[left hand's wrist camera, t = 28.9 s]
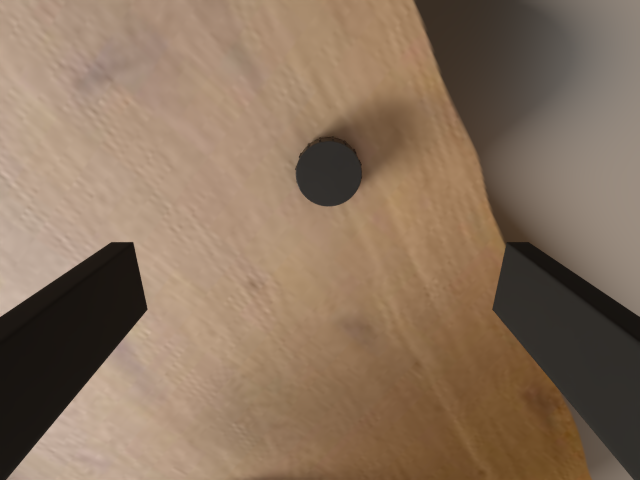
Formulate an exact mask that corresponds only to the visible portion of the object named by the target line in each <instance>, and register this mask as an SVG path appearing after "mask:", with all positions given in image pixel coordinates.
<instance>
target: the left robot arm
mask: <svg viewBox="0 0 640 480" xmlns="http://www.w3.org/2000/svg"><path fill="white" fill-rule="evenodd" d="M147 310H148V309H147V305H146V300H145V295H144V291H143V286H142V281H141V276H140V272H139V267H138V262H137V258H136V253H135V248H134V244H133V242H111V243H110V244H108V245H107V246H105V247H104V248H102V249H101V250H99V251H98V252H96V253H95V254H93V255H92V256H90V257H89V258H87V259H86V260H84V261H83V262H81V263H80V264H78V265H77V266H75V267H74V268H72V269H71V270H69V271H68V272H67V273H65V274H64V275H62V276H61V277H59V278H58V279H56V280H55V281H53V282H52V283H50V284H49V285H47V286H46V287H44V288H43V289H41V290H40V291H38V292H37V293H35V294H34V295H32V296H31V297H29V298H28V299H26V300H25V301H23V302H22V303H20V304H19V305H17V306H16V307H15V308H13V309H12V310H10V311H9V312H7V313H6V314H4V315H3V316H1V317H0V480H6V479H7V478H8V477H9V476H10V474H11V473H12V472H13V471H14V470H15V468H16V467H17V466H18V465H19V464H20V462H21V461H22V460H23V459H24V458H25V456H26V455H27V454H28V453H29V452H30V450H31V449H32V448H33V447H34V446H35V444H36V443H37V442H38V441H39V440H40V438H41V437H42V436H43V435H44V433H45V432H46V431H47V430H48V429H49V427H50V426H51V425H52V424H53V423H54V421H55V420H56V419H57V418H58V417H59V415H60V414H61V413H62V412H63V411H64V409H65V408H66V407H67V406H68V405H69V403H70V402H71V401H72V400H73V399H74V397H75V396H76V395H77V394H78V393H79V391H80V390H81V389H82V388H83V387H84V385H85V384H86V383H87V382H88V381H89V379H90V378H91V377H92V376H93V375H94V373H95V372H96V371H97V370H98V368H99V367H100V366H101V365H102V364H103V362H104V361H105V360H106V359H107V358H108V356H109V355H110V354H111V353H112V352H113V350H114V349H115V348H116V347H117V346H118V344H119V343H120V342H121V341H122V340H123V338H124V337H125V336H126V335H127V334H128V332H129V331H130V330H131V329H132V328H133V326H134V325H135V324H136V323H137V322H138V320H139V319H140V318H141V317H142V316H143V314H144V313H145V312H146V311H147ZM492 310H493V311H494V312H495V313H496V314H497V316H498V317H499V318H500V319H501V320H502V322H503V323H504V324H505V325H506V326H507V328H508V329H509V330H510V331H511V332H512V334H513V335H514V336H515V337H516V338H517V340H518V341H519V342H520V343H521V344H522V346H523V347H524V348H525V349H526V350H527V352H528V353H529V354H530V355H531V356H532V358H533V359H534V360H535V361H536V362H537V364H538V365H539V366H540V367H541V368H542V370H543V371H544V372H545V373H546V375H547V376H548V377H549V378H550V379H551V381H552V382H553V383H554V384H555V385H556V387H557V388H558V389H559V390H560V391H561V393H562V394H563V395H564V396H565V397H566V399H567V400H568V401H569V402H570V403H571V405H572V406H573V407H574V408H575V409H576V411H577V412H578V413H579V414H580V415H581V417H582V418H583V419H584V420H585V421H586V423H587V424H588V425H589V426H590V427H591V429H592V430H593V431H594V432H595V433H596V435H597V436H598V437H599V438H600V440H601V441H602V442H603V443H604V444H605V446H606V447H607V448H608V449H609V450H610V451H611V453H612V454H613V455H614V456H615V458H616V459H617V460H618V461H619V462H620V464H621V465H622V466H623V467H624V468H625V470H626V471H627V472H628V473H629V474H630V476H631V477H632V478H633V479H634V480H640V317H639V316H637V315H636V314H634V313H633V312H631V311H630V310H628V309H627V308H625V307H624V306H623V305H621V304H619V303H618V302H617V301H615V300H614V299H612V298H611V297H609V296H608V295H606V294H605V293H603V292H602V291H600V290H599V289H597V288H596V287H594V286H593V285H591V284H590V283H588V282H587V281H585V280H584V279H582V278H581V277H579V276H578V275H576V274H575V273H573V272H572V271H570V270H569V269H568V268H566V267H564V266H563V265H562V264H560V263H559V262H557V261H556V260H554V259H553V258H551V257H550V256H548V255H547V254H545V253H544V252H542V251H541V250H539V249H538V248H536V247H535V246H533V245H532V244H530V243H529V242H507V244H506V248H505V253H504V258H503V262H502V267H501V272H500V276H499V281H498V286H497V291H496V295H495V300H494V305H493V309H492Z"/></svg>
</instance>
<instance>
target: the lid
mask: <svg viewBox="0 0 640 480" xmlns="http://www.w3.org/2000/svg"><path fill="white" fill-rule="evenodd" d="M295 170H296V180H297V184H298V187H299V189H300V191H301V192H302V194H303V195H304V196H305V197H306V198H307V199H308V200H310V201H311V202H313V203H315V204H318V205H321V206H336V205H340V204H342V203H344V202H346V201H347V200H349V199H350V198H351V197H352V196H353V195H354V194H355V193H356V191H357V189H358V187H359V185H360V182H361V178H362V170H361V162H360V160H359V159H358V157H357V155H356V151H355V150H354V149H352V148H351V146H350V145H348V144H347V143H346V141H345V140H344V141H342V140H340V139H337V138H334V137H326V138H321V137H320V138H319V139H317V140H315V141H313V142H312V143H309V144H308V146H307V147H306V148H305V149H304V151H303V152H302V153H300V156H299V161H298V164H297V166H296V168H295Z"/></svg>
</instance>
